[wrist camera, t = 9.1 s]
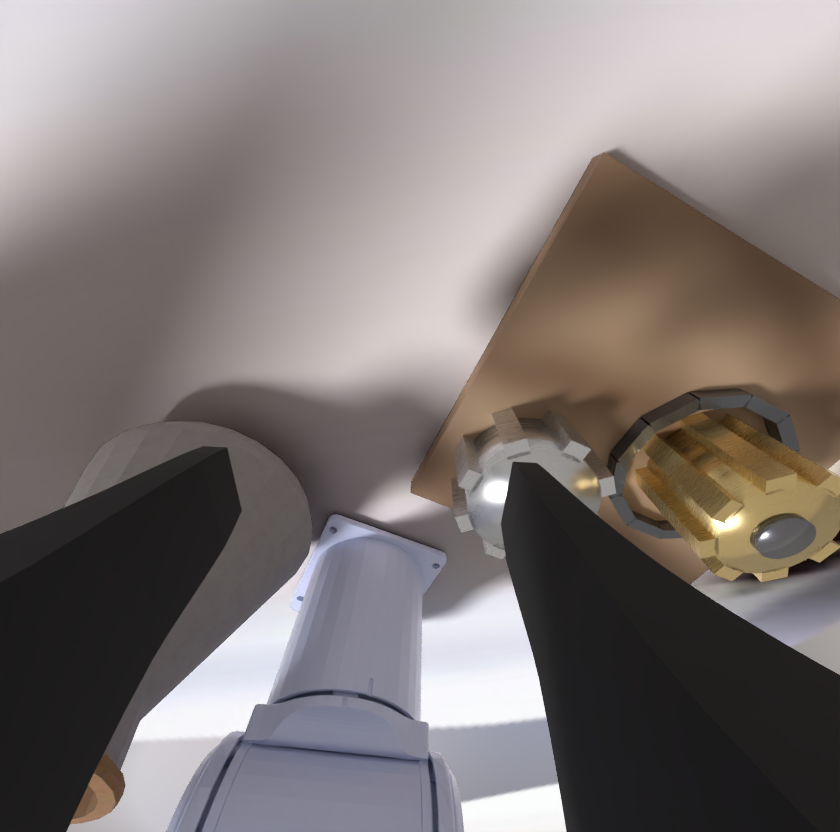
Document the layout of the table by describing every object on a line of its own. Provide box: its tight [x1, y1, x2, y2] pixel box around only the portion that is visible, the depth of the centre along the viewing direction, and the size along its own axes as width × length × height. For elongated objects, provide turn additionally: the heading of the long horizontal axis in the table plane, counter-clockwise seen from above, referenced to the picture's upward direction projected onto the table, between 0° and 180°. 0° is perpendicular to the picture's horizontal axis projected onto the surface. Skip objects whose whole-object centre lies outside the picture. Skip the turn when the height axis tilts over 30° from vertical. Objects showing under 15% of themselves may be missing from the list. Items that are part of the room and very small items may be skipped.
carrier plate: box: [411, 152, 840, 584], centre depth 18 cm, size 17×19×1 cm
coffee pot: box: [63, 421, 313, 824], centre depth 16 cm, size 21×12×15 cm, turn 156°
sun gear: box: [451, 407, 616, 560], centre depth 17 cm, size 7×7×4 cm
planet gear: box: [635, 413, 840, 582], centre depth 16 cm, size 6×6×5 cm
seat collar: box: [607, 388, 800, 539], centre depth 18 cm, size 9×9×1 cm
